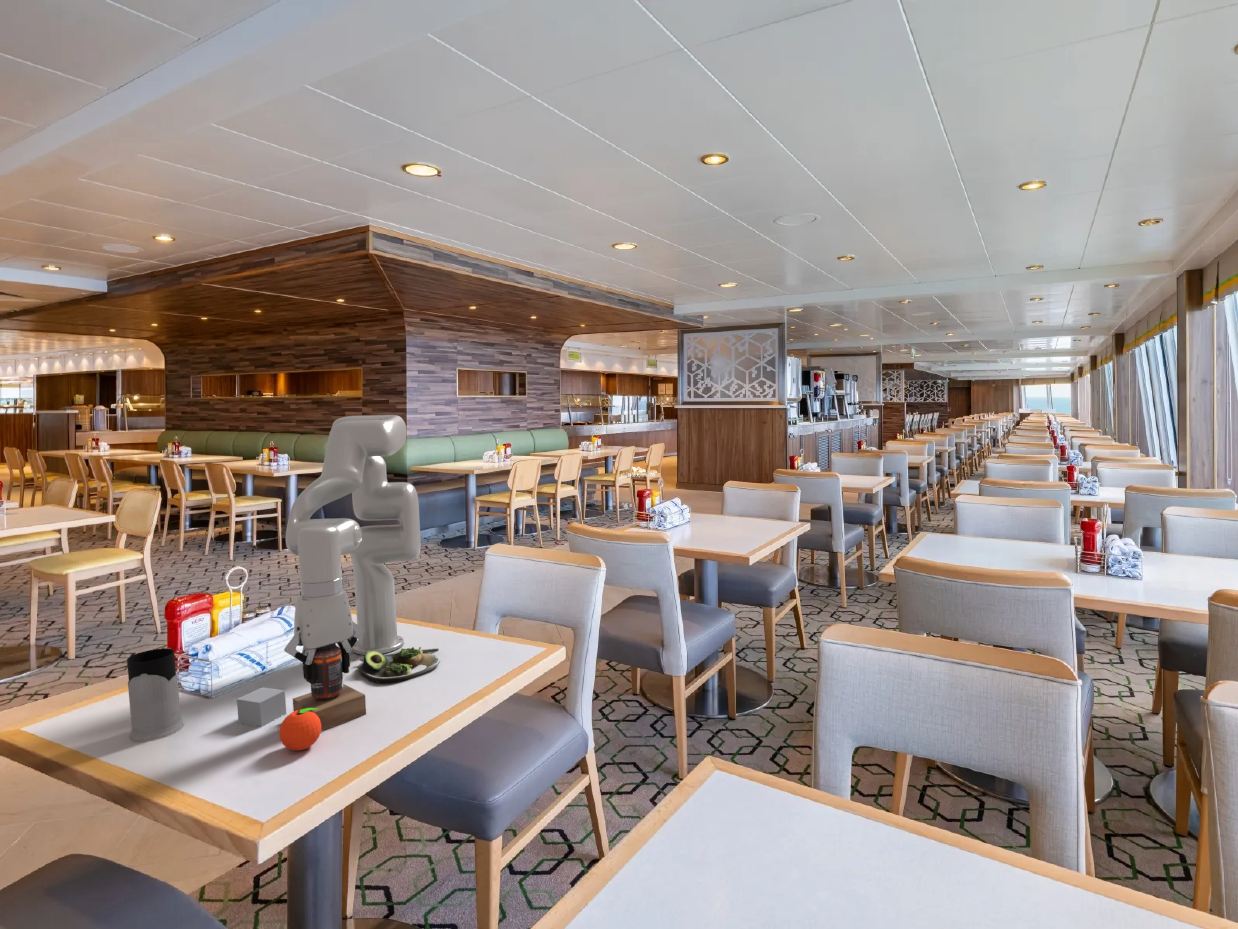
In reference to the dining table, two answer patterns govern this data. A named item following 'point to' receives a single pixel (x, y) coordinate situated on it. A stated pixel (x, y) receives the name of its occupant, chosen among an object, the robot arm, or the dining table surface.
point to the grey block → (261, 706)
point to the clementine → (300, 729)
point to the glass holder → (153, 695)
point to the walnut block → (334, 706)
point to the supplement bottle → (327, 672)
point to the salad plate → (396, 664)
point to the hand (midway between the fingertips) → (327, 676)
